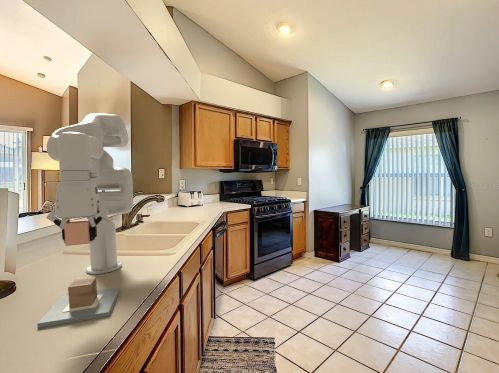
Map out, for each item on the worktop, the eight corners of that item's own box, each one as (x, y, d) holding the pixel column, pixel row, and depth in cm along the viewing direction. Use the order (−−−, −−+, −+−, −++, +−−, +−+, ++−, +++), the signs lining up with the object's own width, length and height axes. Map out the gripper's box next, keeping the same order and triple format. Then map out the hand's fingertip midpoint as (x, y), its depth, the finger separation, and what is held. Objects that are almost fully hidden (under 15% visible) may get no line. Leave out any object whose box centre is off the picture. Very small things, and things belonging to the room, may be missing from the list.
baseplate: (62, 299, 80) (62, 294, 80) (119, 290, 85) (119, 286, 85) (37, 328, 65) (37, 322, 65) (108, 316, 70) (108, 311, 69)
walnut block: (76, 299, 77) (74, 279, 76) (97, 296, 78) (96, 276, 78) (69, 308, 71) (67, 287, 71) (92, 305, 73) (90, 284, 73)
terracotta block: (72, 241, 76) (71, 220, 75) (94, 239, 77) (92, 219, 77) (65, 245, 70) (64, 224, 70) (88, 243, 72) (87, 222, 72)
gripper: (113, 176, 79) (116, 235, 80) (46, 178, 74) (50, 241, 75) (107, 176, 72) (111, 241, 73) (33, 178, 67) (38, 247, 68)
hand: (80, 240), depth 74 cm, fingers closed on terracotta block, 5 cm apart
